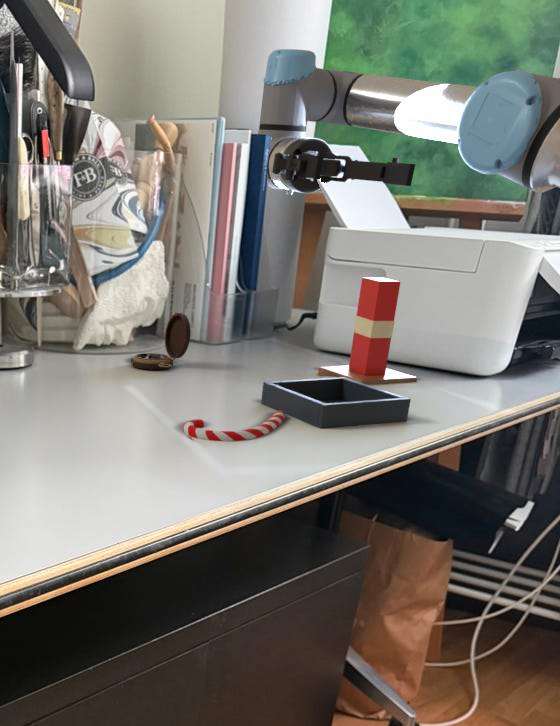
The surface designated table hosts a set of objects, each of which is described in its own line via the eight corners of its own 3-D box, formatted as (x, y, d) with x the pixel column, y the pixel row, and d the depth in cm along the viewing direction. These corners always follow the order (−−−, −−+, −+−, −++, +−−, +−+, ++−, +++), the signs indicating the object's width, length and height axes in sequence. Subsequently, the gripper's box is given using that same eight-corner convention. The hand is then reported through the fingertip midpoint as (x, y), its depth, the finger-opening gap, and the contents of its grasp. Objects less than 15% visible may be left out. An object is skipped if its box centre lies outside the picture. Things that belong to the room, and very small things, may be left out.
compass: (122, 363, 136) (124, 311, 132) (170, 361, 138) (174, 309, 135) (147, 374, 129) (150, 319, 126) (197, 371, 132) (201, 317, 128)
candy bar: (368, 368, 132) (382, 277, 126) (385, 375, 127) (401, 281, 122) (347, 368, 131) (361, 277, 125) (364, 375, 126) (379, 281, 121)
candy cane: (308, 414, 104) (230, 437, 95) (307, 426, 105) (228, 450, 95) (250, 402, 109) (170, 423, 99) (249, 413, 110) (169, 435, 100)
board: (415, 384, 127) (417, 377, 126) (360, 388, 124) (361, 380, 123) (370, 370, 135) (371, 363, 135) (317, 373, 132) (318, 366, 132)
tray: (406, 425, 106) (411, 398, 105) (320, 432, 102) (324, 405, 101) (340, 401, 117) (344, 376, 115) (260, 407, 113) (263, 381, 111)
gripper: (369, 197, 149) (440, 207, 131) (222, 186, 144) (274, 195, 125) (380, 144, 145) (454, 147, 127) (229, 130, 140) (284, 132, 122)
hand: (365, 171), depth 126 cm, fingers open, 13 cm apart
